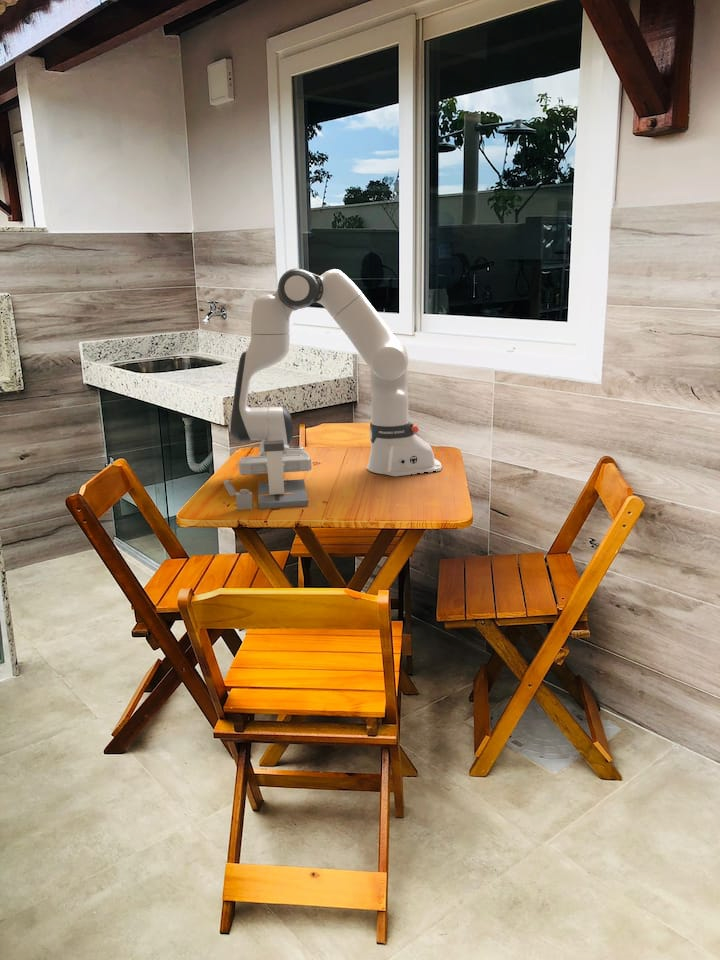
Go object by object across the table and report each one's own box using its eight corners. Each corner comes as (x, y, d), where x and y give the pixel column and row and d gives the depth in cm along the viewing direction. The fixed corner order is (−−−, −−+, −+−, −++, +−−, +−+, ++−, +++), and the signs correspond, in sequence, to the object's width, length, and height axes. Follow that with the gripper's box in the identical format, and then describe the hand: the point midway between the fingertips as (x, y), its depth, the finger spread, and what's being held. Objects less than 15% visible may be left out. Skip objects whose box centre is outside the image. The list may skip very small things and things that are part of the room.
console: (304, 484, 227) (303, 478, 226) (308, 505, 208) (308, 500, 207) (258, 487, 225) (258, 481, 225) (258, 509, 206) (258, 503, 206)
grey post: (286, 490, 215) (283, 440, 211) (286, 493, 212) (283, 443, 208) (267, 491, 215) (263, 441, 211) (267, 495, 211) (263, 444, 207)
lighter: (253, 507, 208) (251, 478, 206) (252, 509, 206) (250, 480, 204) (226, 508, 208) (223, 479, 205) (225, 510, 206) (223, 481, 204)
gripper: (237, 450, 226) (236, 462, 212) (308, 446, 228) (312, 458, 215) (239, 471, 227) (238, 485, 214) (309, 467, 230) (313, 480, 217)
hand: (275, 471), depth 215 cm, fingers closed
